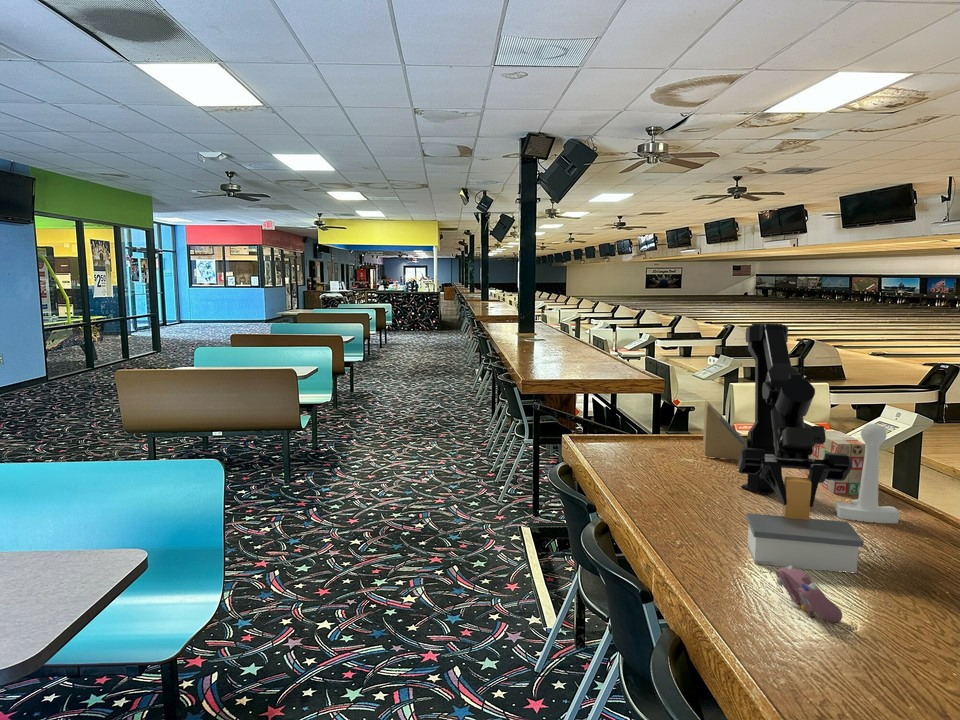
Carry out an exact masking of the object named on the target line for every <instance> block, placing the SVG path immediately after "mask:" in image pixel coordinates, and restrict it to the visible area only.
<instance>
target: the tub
mask: <svg viewBox="0 0 960 720" xmlns="http://www.w3.org/2000/svg"><path fill="white" fill-rule="evenodd" d="M747 529H748V532H747V547H748V550H749V553H750V555H751V558H752V561H753V563H754V564H755V565H765V566H776V567H782V568H783V567H789V566H790V565H791V566H792V567H793V568H794V569H801V570H802V569H805V570H813V571H822V570H825V571H824V572H832V571H844V572H845V571H846V572H854V573H856V574H857V572H858V571H857V570H858V560H859V559H858V557H859V548H860V547H856V546H845V545H834V544H824V543H813V542H802V541H792V540H781V539H770V538H759V537H754V536H753V534H752V531H751V529H750V527H749V526H748V528H747ZM826 570H828V571H826Z"/></svg>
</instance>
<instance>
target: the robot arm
mask: <svg viewBox="0 0 960 720" xmlns="http://www.w3.org/2000/svg"><path fill="white" fill-rule="evenodd" d="M788 334H789V326H786V325H785V324H782V323H773V322H772V323H770V322H769V323H767V322H766V323H764V322H763V323H762V322H761V323H759V322H758V323H757V322H754V323H753V322H752V323H751V325H749V326H747V327H746V329H745V343H747V348H748V349H747V351H748V352H749V354H750V356H751V357H752V358H753V360H754V363H755V366H754V370H755V371H754V374H755V375H754V377H755V378H754V381H755V382H754V383H755V386H754V388H755V389H754V396H755V397H754V423H753V425H752V426H751V428H750V429H749V430H748V432H747V438H746V439H745V443H744V446H743V449H742V450H741V453H740V457H739V460H737V462H738V464H737V466H738V469H737V470H738V473H740V474H743V475H747V480H746V481H747V482H746V483H745V484H742V485H740V488H741V489H744V490H747V491H751V492H755V493H757V494H761V495H767V496H768V495H771V494H773V493H775V494H776V495H777V497H778V498H779V500H780V502H781V504H782V506H783V505H786V504H787V499H786V492H785V487H784V478H783V472H782V469H795V470H799V469H807V470H808V471H809V475H808V476H807V477H806V478H809V480H810V481H811V482H812V486H811V499H810V509H811V508H813V506H814V503H815V499H816V495H817V489H818V486H819V483H823V482H824V481H825V479H826V480H837V481H842V480H845V479H846V477H847V475H848V473H849V472H850V470H851V468H852V462H851V458H850V457H849V456H848V455H847V454H837V453H826V454H825V457H824V459H823V460H816V459H809V455H812V453H813V450H812V447H815V444H821V445H822V444H823V443H825V440H826V438H825V431H826V430H825V426H824V425H813V426H811V427H810V428H809V427H805V421H804V417H806V416H807V414H808V412H809V409H810V407H811V405H812V402H813V400H814V397H815V395H816V389H815V387H814V386H813V385H812V384H811V383H810V382H809V381H808V380H806V379H803V378H802V374H801V372H799V371H798V370H797V369H795V368H793V367H792V362H791V359H790V354H789V349H788V344H787V343H788V340H789V339H788V338H789V335H788Z"/></svg>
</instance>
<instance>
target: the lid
mask: <svg viewBox="0 0 960 720" xmlns="http://www.w3.org/2000/svg"><path fill="white" fill-rule="evenodd" d="M783 482H784V487H785V492H786V499H787V504H786V505H783V504H782V513H781V515H772V514H761V513H750V512H746V514H745V519H746V521H747V525H748V527H750V529H751V531H752V534H753V536H754V537H759V538H770V539H781V540H792V541H802V542H813V543H824V544H834V545H845V546H856V547H859V548H864V544H865V542H864V540H863V538H862V537H861V536H860V535H859V534H858V532H856V530H855V529H854V527H853V526H852V525H851V524H850V523H849V522H848V521H843V520H833V519H832V520H831V519H818V518H810V513H811V512H810V511H811V508H810V499H811V486H812V482H811V481H810V480H809V478H807V477H795V476H794V477H793V476H784V478H783Z"/></svg>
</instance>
